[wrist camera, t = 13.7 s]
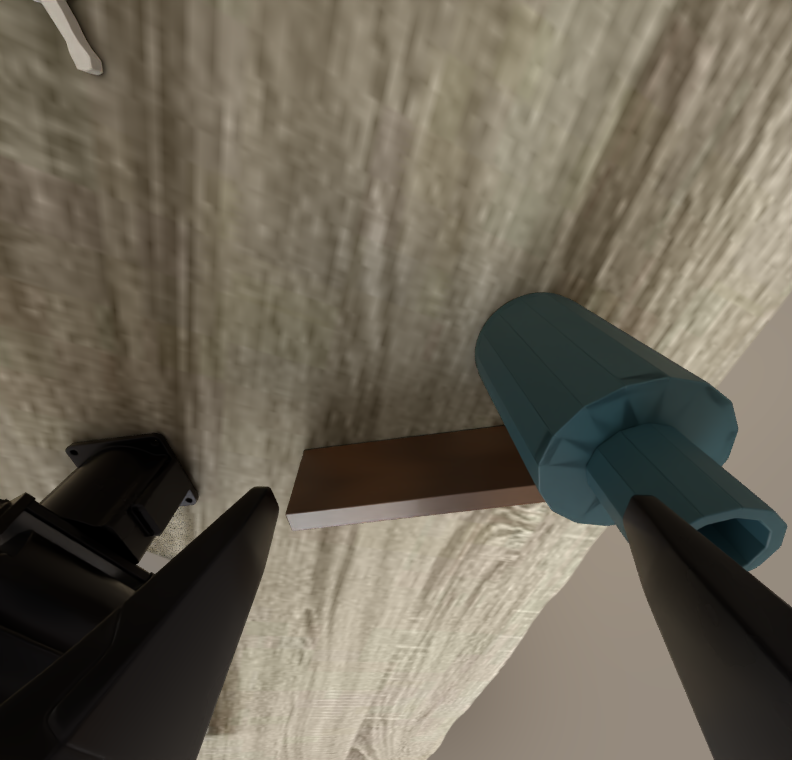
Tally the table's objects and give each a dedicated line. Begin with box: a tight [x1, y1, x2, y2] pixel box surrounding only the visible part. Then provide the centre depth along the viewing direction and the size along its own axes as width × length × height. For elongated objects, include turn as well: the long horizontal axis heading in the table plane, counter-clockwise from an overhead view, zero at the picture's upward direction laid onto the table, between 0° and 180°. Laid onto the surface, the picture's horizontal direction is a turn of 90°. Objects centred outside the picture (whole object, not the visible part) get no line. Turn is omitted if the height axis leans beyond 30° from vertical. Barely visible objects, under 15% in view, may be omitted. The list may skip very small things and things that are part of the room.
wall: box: [286, 426, 546, 531], centre depth 22 cm, size 19×2×6 cm, turn 97°
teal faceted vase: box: [475, 292, 787, 571], centre depth 15 cm, size 7×7×14 cm
